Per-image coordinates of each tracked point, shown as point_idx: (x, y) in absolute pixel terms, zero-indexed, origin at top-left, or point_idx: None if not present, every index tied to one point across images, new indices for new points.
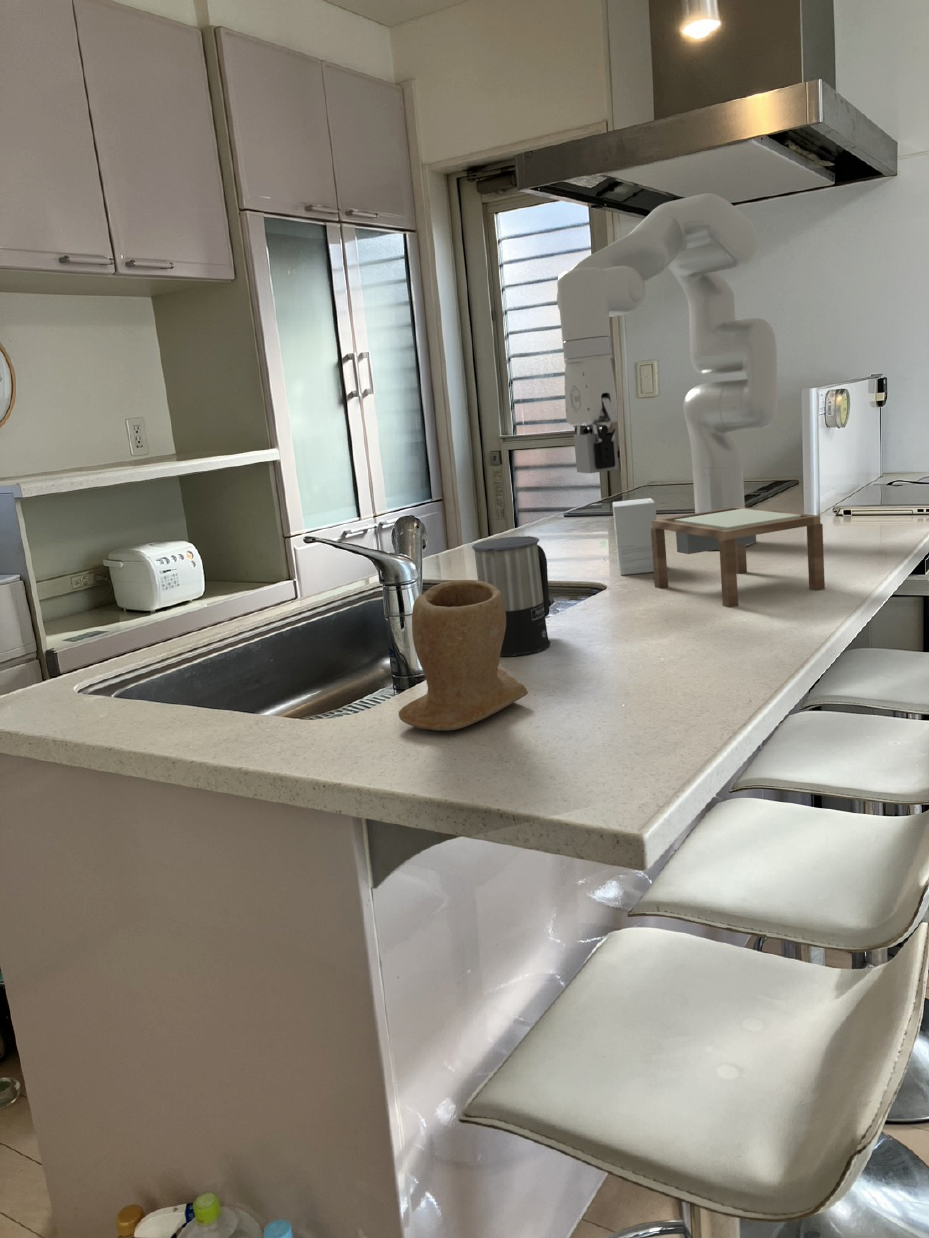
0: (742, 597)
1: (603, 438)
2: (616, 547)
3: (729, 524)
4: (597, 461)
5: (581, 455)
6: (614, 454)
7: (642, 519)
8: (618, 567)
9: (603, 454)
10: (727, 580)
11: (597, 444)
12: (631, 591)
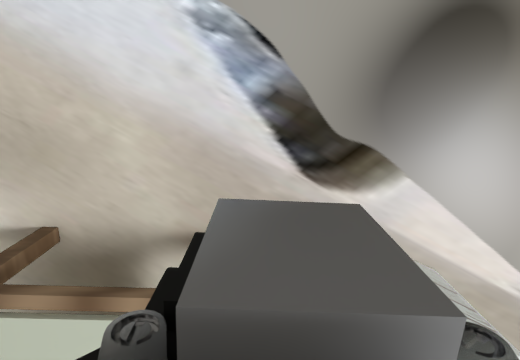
0: (88, 271)
1: (87, 357)
2: (442, 284)
3: (10, 338)
4: (188, 248)
5: (304, 233)
6: None
7: None
8: (416, 262)
9: (158, 290)
10: (14, 244)
11: (164, 311)
12: (250, 192)
